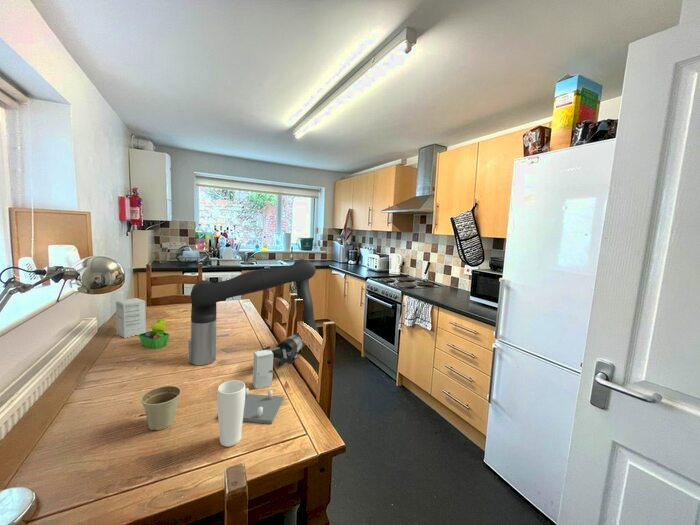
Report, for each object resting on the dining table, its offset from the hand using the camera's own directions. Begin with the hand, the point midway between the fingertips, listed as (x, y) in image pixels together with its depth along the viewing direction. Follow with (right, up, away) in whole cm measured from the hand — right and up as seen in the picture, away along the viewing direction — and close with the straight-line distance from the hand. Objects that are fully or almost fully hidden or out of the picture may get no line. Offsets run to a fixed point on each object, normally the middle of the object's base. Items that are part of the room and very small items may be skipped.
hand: (267, 362), depth 105 cm
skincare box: (-1, -7, -2) cm, 8 cm away
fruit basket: (-59, -1, +25) cm, 64 cm away
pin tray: (0, -9, -16) cm, 18 cm away
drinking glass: (-1, -10, -30) cm, 31 cm away
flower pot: (-23, -9, -25) cm, 35 cm away
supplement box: (-78, +1, +36) cm, 86 cm away
